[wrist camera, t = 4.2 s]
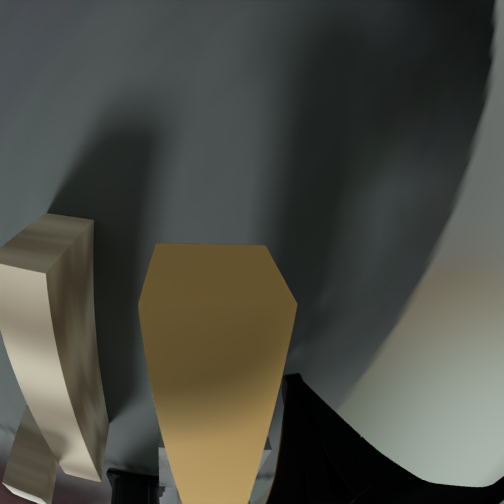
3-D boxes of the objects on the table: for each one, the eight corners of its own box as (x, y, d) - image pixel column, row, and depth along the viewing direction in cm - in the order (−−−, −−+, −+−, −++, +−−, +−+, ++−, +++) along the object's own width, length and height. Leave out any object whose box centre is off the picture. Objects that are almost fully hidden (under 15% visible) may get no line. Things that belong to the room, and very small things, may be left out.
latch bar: (241, 485, 15) (249, 523, 12) (179, 487, 14) (182, 526, 12) (282, 245, 9) (320, 303, 6) (138, 242, 8) (112, 303, 5)
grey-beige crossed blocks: (109, 424, 20) (98, 525, 11) (47, 409, 19) (23, 502, 10) (94, 219, 14) (-9, 346, 5) (6, 207, 13) (-113, 296, 4)
